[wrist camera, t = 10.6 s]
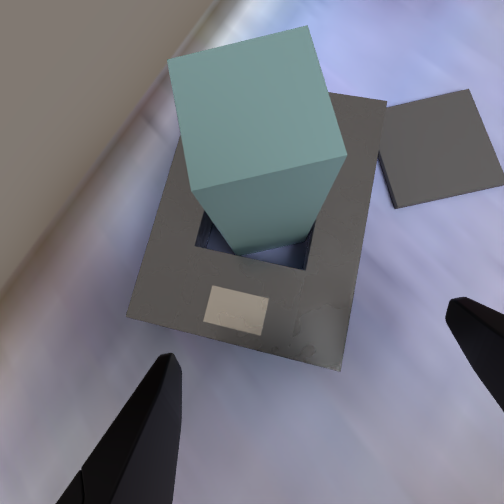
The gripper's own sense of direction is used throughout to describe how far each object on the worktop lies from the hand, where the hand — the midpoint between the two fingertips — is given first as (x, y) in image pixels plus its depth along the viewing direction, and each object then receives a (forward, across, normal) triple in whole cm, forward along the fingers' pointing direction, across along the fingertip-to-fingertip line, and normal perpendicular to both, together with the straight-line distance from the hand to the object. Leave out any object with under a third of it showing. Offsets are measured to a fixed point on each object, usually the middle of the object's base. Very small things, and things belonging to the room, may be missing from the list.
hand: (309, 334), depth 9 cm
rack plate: (+11, 0, +1) cm, 11 cm away
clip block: (+11, 0, +1) cm, 11 cm away
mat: (+13, -12, 0) cm, 17 cm away
